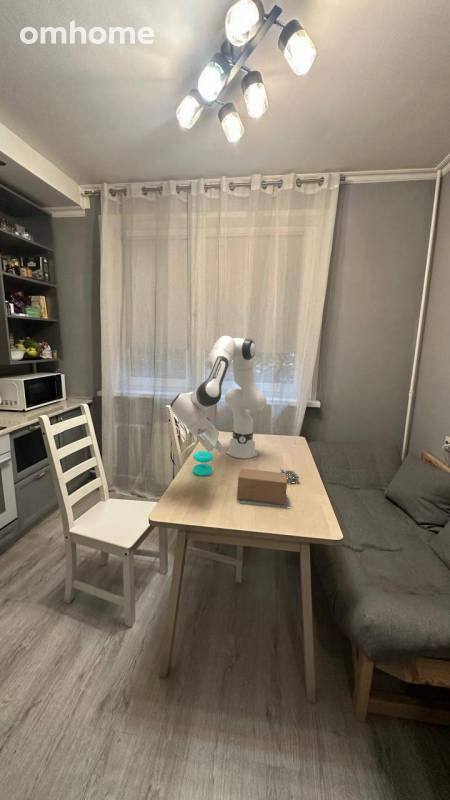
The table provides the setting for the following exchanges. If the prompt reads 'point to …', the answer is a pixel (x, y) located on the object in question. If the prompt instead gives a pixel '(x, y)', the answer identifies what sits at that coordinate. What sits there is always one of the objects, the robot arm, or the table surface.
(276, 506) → the rubber mat
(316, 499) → the table surface
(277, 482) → the wooden block
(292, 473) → the egg carton
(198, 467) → the donuts
